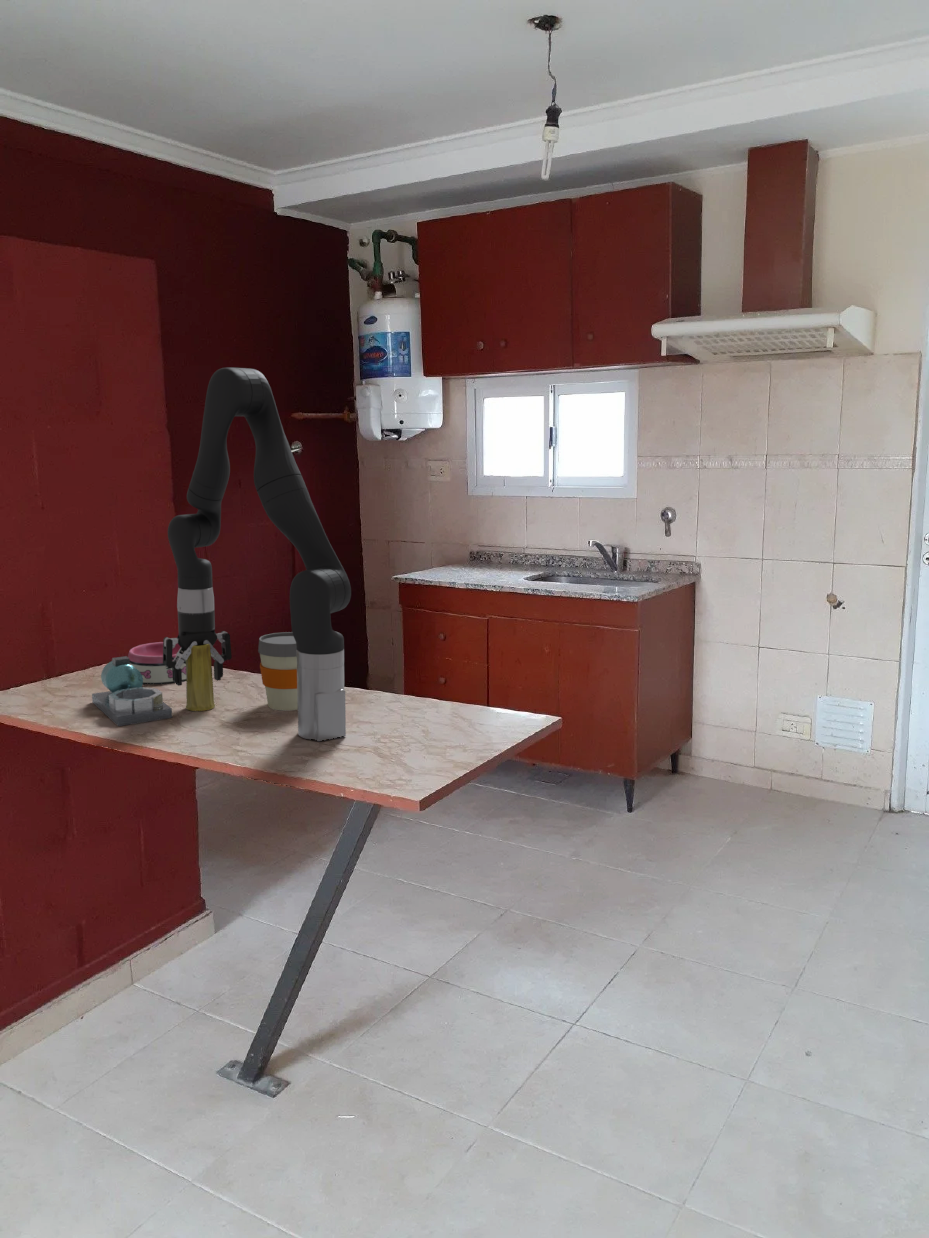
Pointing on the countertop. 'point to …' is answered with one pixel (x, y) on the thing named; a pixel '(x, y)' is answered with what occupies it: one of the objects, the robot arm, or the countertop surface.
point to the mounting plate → (129, 695)
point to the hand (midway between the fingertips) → (198, 682)
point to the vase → (199, 679)
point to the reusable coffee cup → (279, 670)
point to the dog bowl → (154, 663)
